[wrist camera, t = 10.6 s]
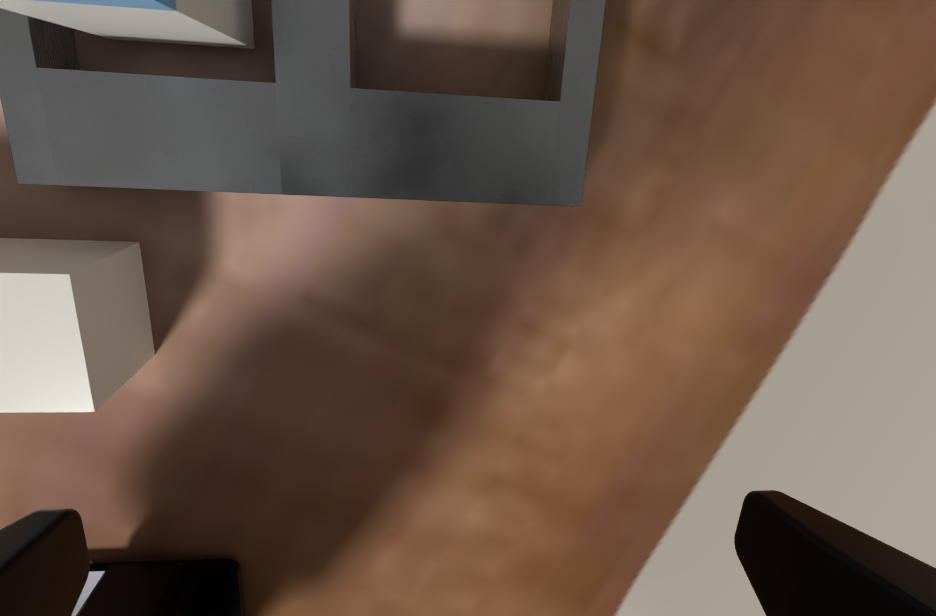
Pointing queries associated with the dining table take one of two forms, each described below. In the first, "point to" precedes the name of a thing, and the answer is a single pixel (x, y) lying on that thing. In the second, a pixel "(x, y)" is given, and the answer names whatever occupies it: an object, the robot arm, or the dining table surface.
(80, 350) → the plug
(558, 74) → the panel
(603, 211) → the dining table surface
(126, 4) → the plug
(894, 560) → the robot arm
